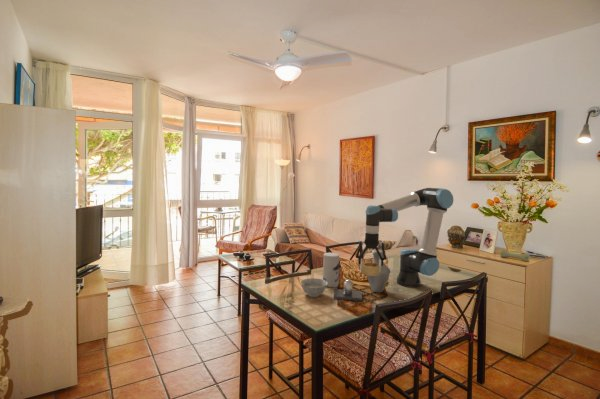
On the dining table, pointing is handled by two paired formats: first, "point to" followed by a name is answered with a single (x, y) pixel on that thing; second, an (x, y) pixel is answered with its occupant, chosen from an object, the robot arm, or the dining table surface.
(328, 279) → the container
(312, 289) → the bowl
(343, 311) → the dining table surface
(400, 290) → the dining table surface
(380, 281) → the vase
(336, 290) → the piston block
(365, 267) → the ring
